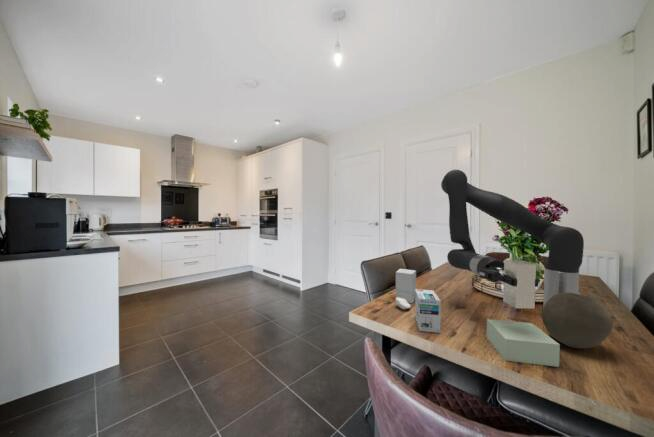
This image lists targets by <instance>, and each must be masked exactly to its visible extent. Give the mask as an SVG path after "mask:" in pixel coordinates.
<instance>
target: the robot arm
mask: <svg viewBox="0 0 654 437" xmlns="http://www.w3.org/2000/svg"><path fill="white" fill-rule="evenodd" d="M440 186H441V189H442V191H443V192H444V193H445V194H446V195H447V197H448V205H449V207H448V208H449V213H448V214H449V216H448V221H449V222H448V225H449V235H450V236H449V237H450V242H451V243H453V244H457V245H460V246H461V248H459V249H457V248H455V249H451V250H450V251H449V252H447V255H446V256H447V258H446V259H447V261H448V263H449V264H450V265H451V267H454V268H455V269H456V268H457V269H461V270H465V271H466V270H467V271H469V272H471V273H473V274H475V275H477V276H479V278H482V279H484V280H487V281H489V282H492V283H502V284H504V283H507V284H509V285H511V286H517V279H516V278H514V277H511V276H509V275H506V274H504V260H501V259H498V258H495V257H492V256H488V255H484V254H479V253H477V252H476V249H475V247H474V245H473V242H472V240H471V235H470V227H469V220H468V210H467V203H468V204H470V205H471V206H473V207H475V208H476V209H478V210H480V211H481V212H483V213H484V214H487V215H489V216H490V217H492V218H494V219H496V220H498V221H500V222H502V223H503V224H505V225H507V226H510V227H511V228H515V229H517V230H520V231H522V232H524V233H526V234H528V235H530V236H532V237H533V238H535V239H536V240H538V241H539V242H540V243H542V244H544V245H545V246H546V247H548V256H547V259H546V260H545V261H544V270H543V272H544V275H543V276H544V278H543V301H542V302H543V307H544V305H545V303H546V302H547V301H548V300H549V299H550V298H551V297H552V296H554V295H556V294H559V293H568V292H569V293H575V294H579V295H582V294H581V292H579V284H580V283H579V281H580V278H579V276H580V267H581V265H582V264H583V259H584V258H583V257H584V249H585V248H584V247H585V246H584V244H585V240H584V237H583V234H582V233H581V232H580V231H579V230H578V229H576V228H572V227H569V226H563V225H558V224H556V223H553V222H551V221H548V220H546V219H543V218H541V217H539V216H538V215H537V214H535V213H534V212H532V211H531V210H530V209H528V208H527V207H525V206H524V205H523V204H521V203H519V202H518V201H516V200H514V199H512V198H511V197H508V196H506V195H503V194H500V193H498V192H497V193H496V192H493V191H488V190H484V189H481V188H478V187H476V186H475V185H472V184H471V183H469V182H468V176H467V174H466V173H465V172H464V171H462V170H460V169H452V170H449V171H448V172H447V173H446V174H445V175H444V176H443V179H442V180H441V184H440ZM539 281H540V280H539V278H537V277H536V279H535V288H536V287H539ZM543 307H542V308H543Z"/></svg>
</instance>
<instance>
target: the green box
mask: <svg viewBox="0 0 654 437" xmlns="http://www.w3.org/2000/svg"><path fill="white" fill-rule="evenodd" d="M486 339H487V341H489V342H490V344H491V345H492V346H493V347H494V348H495V349H494V350H496V351H497V353H498V354H499V355H500V356H501V357H502V359H503V360H504V361H506V362H515V363H523V364H532V365H540V366H548V367H556V368H559V367H560V349H561V348H560V347H561V344H560V343H559V342H557V340H554V338H553V337H552V336H551V337H550V336H549V335H548V334H547V333H545V332H544V331H543V330H542V329H540V327H538V326H536V325H535V324H534V323H532V322H522V321H512V320H511V321H510V320H501V319H499V320H498V319H489V318H487V319H486Z"/></svg>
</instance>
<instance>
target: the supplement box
mask: <svg viewBox="0 0 654 437" xmlns="http://www.w3.org/2000/svg"><path fill="white" fill-rule="evenodd" d="M415 289H417V270H414V269H407V268H399V269H397V271H395V299H396V298H402V299H405V300H406V301H407V302H408V303H409V304H414V303H415Z"/></svg>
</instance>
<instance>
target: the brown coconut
mask: <svg viewBox="0 0 654 437" xmlns="http://www.w3.org/2000/svg"><path fill="white" fill-rule="evenodd" d="M541 319H542V323H543V325H544V327H545V329H546V331H547V332H548V334H549V335H550V336H551V338H553V339H555V341H558V342H560V343H562V344H563V345H565V346H566V347H569V348H572V349H581V350H582V349H590V348H594V347H597V346H598V345H599V344H601V343H603V342H604V341H605V340H606V339H607V338H608V337H609V335H610V334H611V333H612V329H613V326H614V325H613V324H614V323H613V317H612V316H611V314H610V312H609V311H608V310H607V308H606V307H605V306H604V305H603V304H601V303H600V302H599V301H598V300H596V299H594V298H592V297H590V296H588V295H584V294H583V295H582V294H581V295H579V294H575V293H569V292H568V293H559V294H556V295H554V296H552V297H551V298H550V299H549V300H548V301H547V302H546V303H545V305H544V307H542V312H541Z"/></svg>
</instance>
